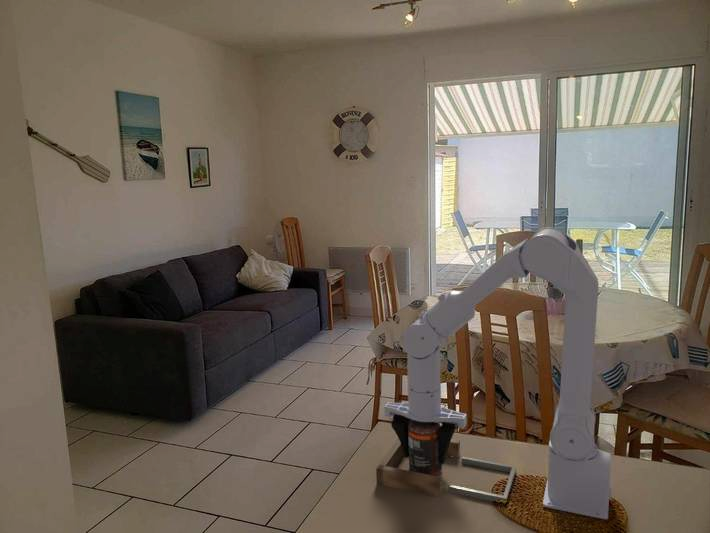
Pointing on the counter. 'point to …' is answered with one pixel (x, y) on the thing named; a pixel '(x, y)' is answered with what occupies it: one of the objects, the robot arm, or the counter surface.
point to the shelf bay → (410, 472)
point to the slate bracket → (480, 493)
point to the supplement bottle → (424, 447)
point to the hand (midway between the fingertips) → (425, 457)
